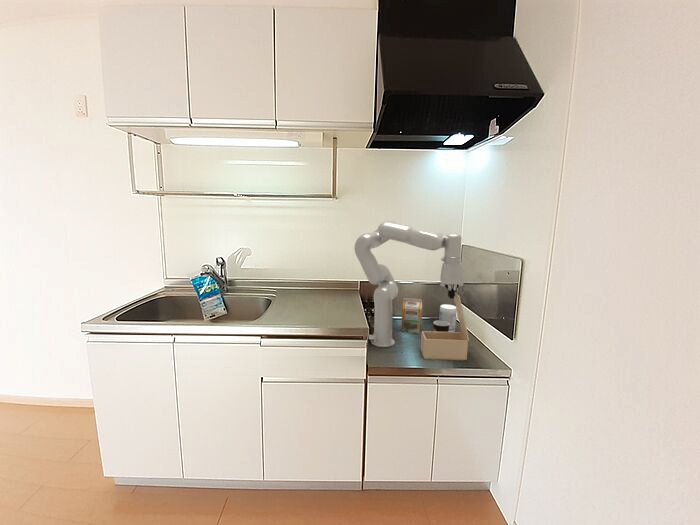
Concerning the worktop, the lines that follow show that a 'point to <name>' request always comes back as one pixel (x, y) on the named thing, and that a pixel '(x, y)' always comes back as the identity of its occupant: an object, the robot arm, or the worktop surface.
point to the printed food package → (411, 316)
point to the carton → (444, 345)
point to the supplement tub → (448, 315)
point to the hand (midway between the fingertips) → (451, 297)
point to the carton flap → (461, 315)
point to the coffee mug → (441, 326)
